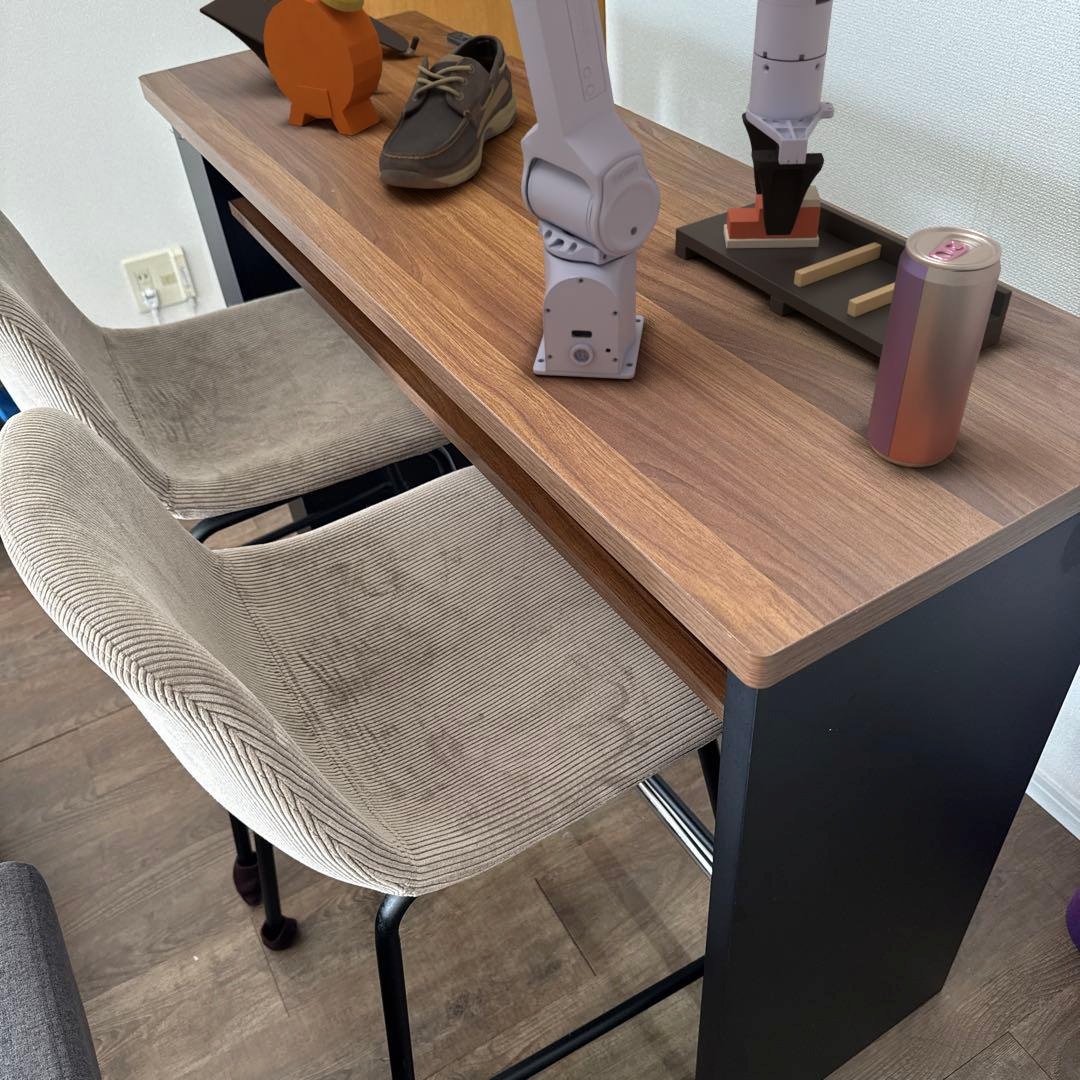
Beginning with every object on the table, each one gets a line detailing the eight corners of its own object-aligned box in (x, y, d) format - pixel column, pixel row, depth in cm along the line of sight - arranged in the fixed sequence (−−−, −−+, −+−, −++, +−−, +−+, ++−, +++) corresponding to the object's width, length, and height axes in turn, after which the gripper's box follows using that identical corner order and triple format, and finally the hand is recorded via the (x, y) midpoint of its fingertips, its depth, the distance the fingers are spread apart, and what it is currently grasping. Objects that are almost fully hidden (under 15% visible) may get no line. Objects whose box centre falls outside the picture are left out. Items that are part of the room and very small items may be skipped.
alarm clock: (393, 121, 129) (369, -64, 116) (362, 138, 125) (333, -52, 112) (309, 106, 135) (277, -72, 122) (277, 122, 131) (240, -61, 118)
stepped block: (813, 230, 95) (819, 184, 93) (818, 247, 93) (824, 200, 90) (723, 232, 96) (726, 186, 93) (726, 249, 93) (729, 202, 91)
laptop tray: (351, 147, 139) (371, 83, 133) (189, 61, 137) (202, -9, 130) (407, 90, 156) (427, 30, 150) (264, 11, 153) (279, -52, 147)
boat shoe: (355, 203, 111) (338, 98, 104) (441, 108, 132) (431, 15, 125) (455, 209, 108) (444, 102, 101) (525, 111, 130) (520, 17, 123)
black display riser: (998, 342, 84) (1013, 290, 81) (899, 385, 80) (910, 333, 77) (765, 223, 103) (769, 177, 100) (674, 253, 99) (676, 207, 96)
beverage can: (848, 447, 75) (884, 248, 65) (894, 412, 78) (934, 216, 68) (925, 482, 71) (974, 277, 61) (969, 443, 74) (1023, 242, 64)
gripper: (856, 78, 78) (832, 250, 87) (827, 22, 89) (808, 180, 98) (759, 81, 79) (745, 252, 88) (743, 25, 90) (731, 182, 99)
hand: (773, 214), depth 93 cm, fingers open, 7 cm apart
